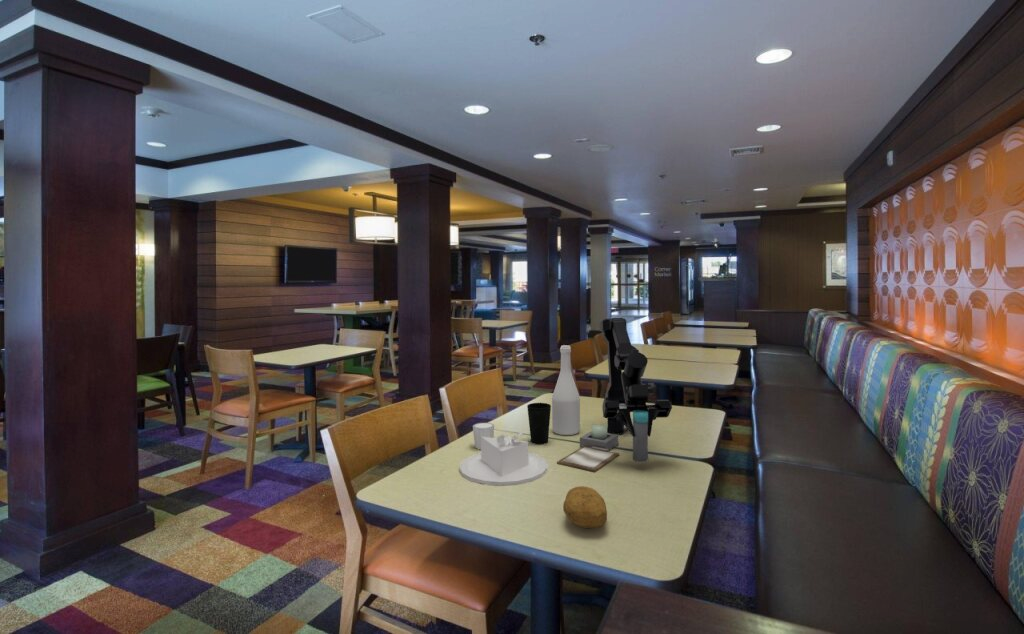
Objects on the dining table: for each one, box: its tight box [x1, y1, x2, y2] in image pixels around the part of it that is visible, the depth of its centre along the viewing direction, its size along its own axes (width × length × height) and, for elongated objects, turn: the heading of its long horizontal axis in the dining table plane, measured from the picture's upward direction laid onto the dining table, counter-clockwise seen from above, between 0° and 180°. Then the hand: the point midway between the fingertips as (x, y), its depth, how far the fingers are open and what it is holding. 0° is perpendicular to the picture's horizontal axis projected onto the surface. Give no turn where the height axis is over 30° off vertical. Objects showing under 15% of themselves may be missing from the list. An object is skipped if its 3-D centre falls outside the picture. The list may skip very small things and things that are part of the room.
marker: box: [632, 410, 649, 463], centre depth 143 cm, size 4×4×14 cm
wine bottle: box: [551, 344, 581, 436], centre depth 177 cm, size 10×10×30 cm
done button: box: [590, 424, 608, 440], centre depth 163 cm, size 5×5×4 cm
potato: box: [562, 485, 608, 529], centre depth 113 cm, size 9×13×7 cm
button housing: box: [579, 431, 619, 451], centre depth 163 cm, size 9×9×3 cm
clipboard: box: [556, 446, 620, 473], centre depth 151 cm, size 16×12×1 cm
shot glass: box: [472, 422, 495, 450], centre depth 164 cm, size 7×7×7 cm
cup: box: [526, 402, 552, 445], centre depth 168 cm, size 8×8×12 cm
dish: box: [458, 432, 548, 487], centre depth 145 cm, size 25×25×11 cm
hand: (641, 435), depth 142 cm, fingers closed on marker, 4 cm apart
